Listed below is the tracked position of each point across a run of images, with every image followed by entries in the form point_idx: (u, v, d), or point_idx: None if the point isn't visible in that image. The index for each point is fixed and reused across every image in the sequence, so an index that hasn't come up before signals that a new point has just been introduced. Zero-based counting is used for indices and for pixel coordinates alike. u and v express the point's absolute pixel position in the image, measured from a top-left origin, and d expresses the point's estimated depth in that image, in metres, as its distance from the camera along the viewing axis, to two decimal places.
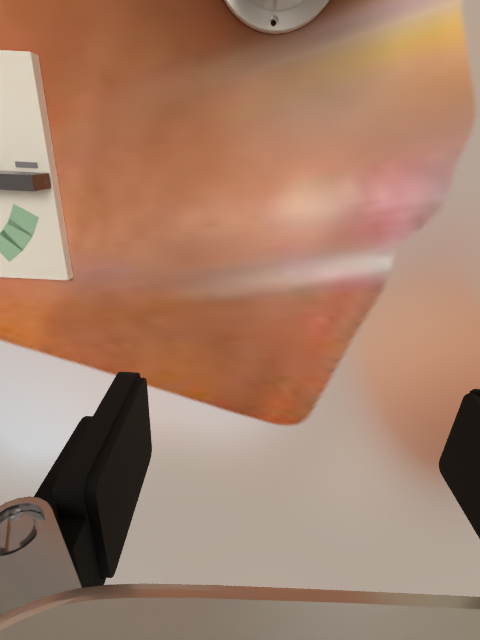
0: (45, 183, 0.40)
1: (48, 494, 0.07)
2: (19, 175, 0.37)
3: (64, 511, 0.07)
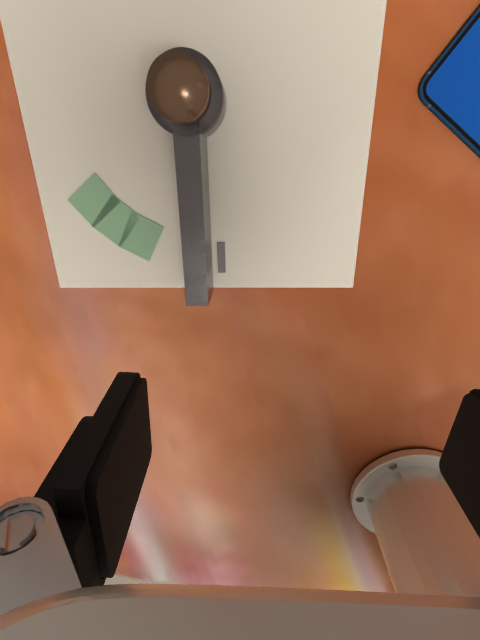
0: None
1: (48, 494, 0.07)
2: (206, 288, 0.25)
3: (64, 511, 0.07)
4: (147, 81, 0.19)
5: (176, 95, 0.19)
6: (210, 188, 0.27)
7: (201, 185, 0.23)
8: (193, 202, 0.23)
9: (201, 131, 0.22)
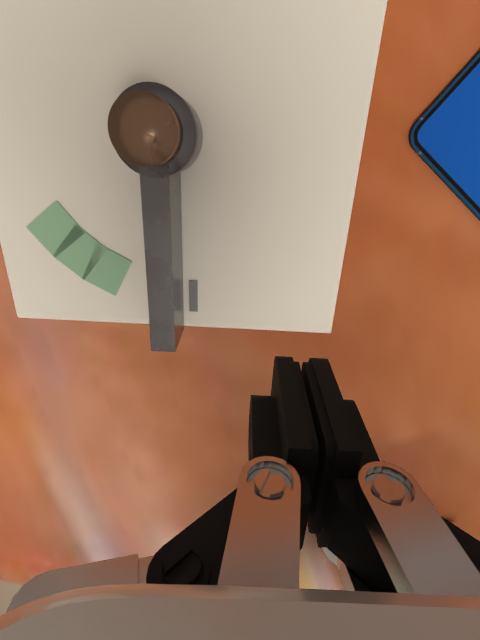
0: None
1: None
2: (173, 335, 0.24)
3: None
4: (108, 121, 0.17)
5: (141, 138, 0.17)
6: (183, 224, 0.25)
7: (170, 229, 0.21)
8: (161, 246, 0.21)
9: (171, 173, 0.20)
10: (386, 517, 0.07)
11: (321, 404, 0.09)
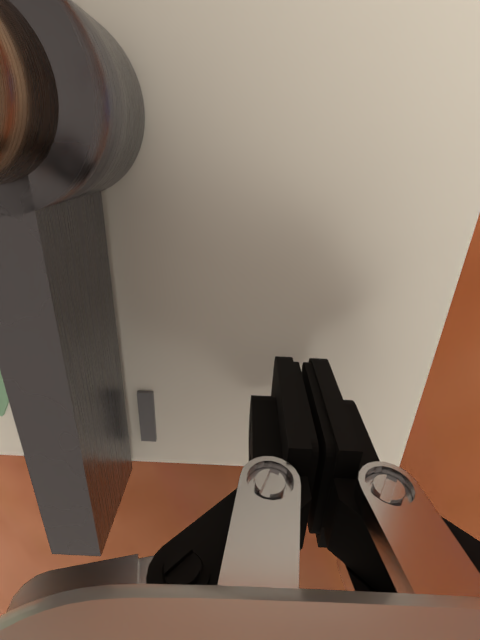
0: None
1: None
2: (93, 530, 0.11)
3: None
4: None
5: None
6: (118, 294, 0.12)
7: (57, 338, 0.08)
8: (40, 373, 0.09)
9: (39, 205, 0.07)
10: (386, 517, 0.07)
11: (321, 404, 0.09)
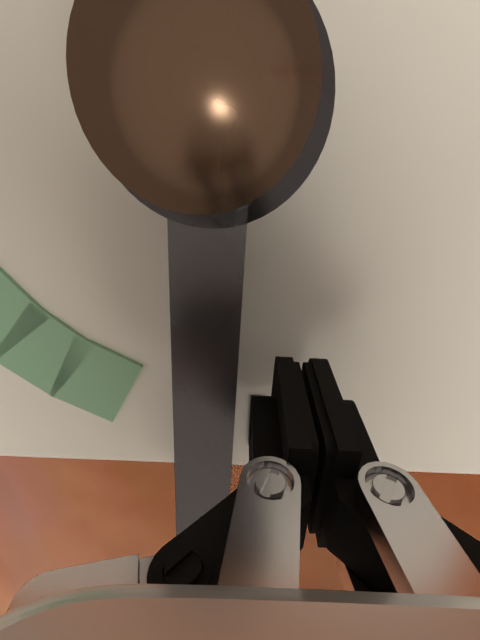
0: None
1: None
2: None
3: None
4: (70, 49, 0.04)
5: (190, 117, 0.05)
6: (245, 300, 0.12)
7: (236, 347, 0.09)
8: (211, 382, 0.09)
9: (253, 217, 0.07)
10: (386, 517, 0.07)
11: (321, 404, 0.09)
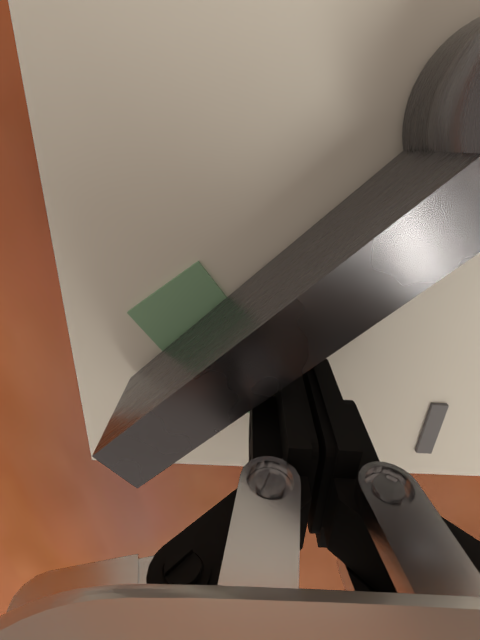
0: None
1: None
2: (165, 465, 0.10)
3: None
4: None
5: None
6: (452, 306, 0.12)
7: (387, 312, 0.08)
8: (333, 323, 0.08)
9: None
10: (386, 517, 0.07)
11: (321, 404, 0.09)
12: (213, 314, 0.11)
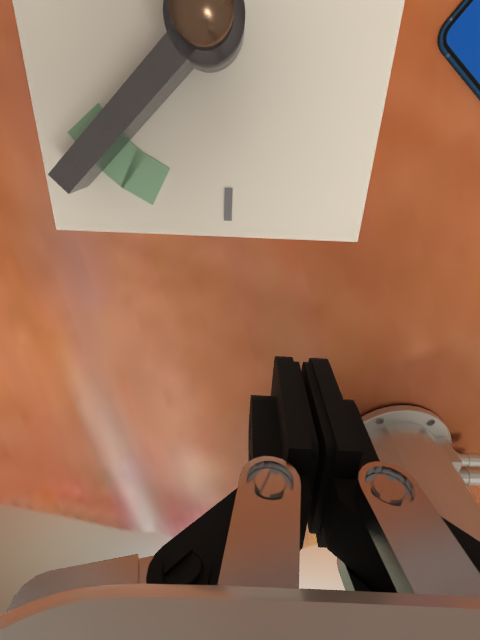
0: None
1: None
2: (79, 179, 0.23)
3: None
4: None
5: (194, 7, 0.18)
6: (221, 128, 0.25)
7: (152, 97, 0.21)
8: (133, 102, 0.21)
9: (190, 58, 0.20)
10: (386, 517, 0.07)
11: (321, 404, 0.09)
12: None
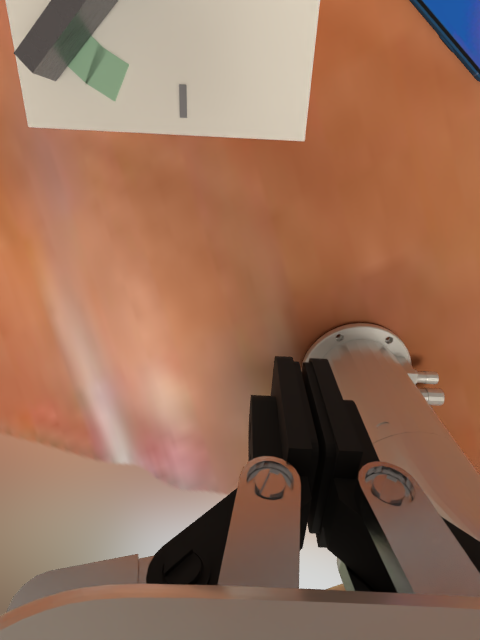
0: None
1: None
2: (41, 58, 0.26)
3: None
4: None
5: None
6: (173, 24, 0.28)
7: None
8: None
9: None
10: (386, 517, 0.07)
11: (321, 404, 0.09)
12: None
